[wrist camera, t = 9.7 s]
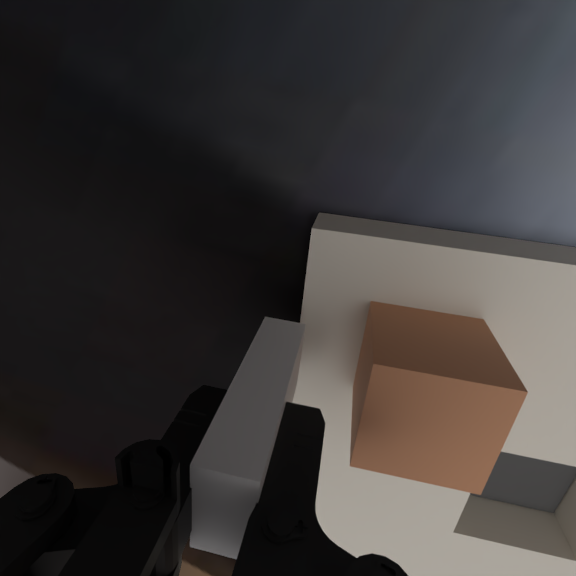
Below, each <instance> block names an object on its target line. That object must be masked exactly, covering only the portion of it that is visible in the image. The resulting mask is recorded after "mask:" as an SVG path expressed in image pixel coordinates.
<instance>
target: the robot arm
mask: <svg viewBox="0 0 576 576" xmlns="http://www.w3.org/2000/svg"><path fill="white" fill-rule="evenodd" d="M305 326H306V324H302V323H297V322H291V321H286V320H281V319H275V318H270V317H265V318H264V320H263V322H262V324H261V326H260V328H259V330H258V332H257V334H256V336H255V338H254V340H253V342H252V344H251V345H250V347H249V349H248V351H247V353H246V355H245V357H244V359H243V361H242V363H241V365H240V367H239V369H238V371H237V373H236V375H235V377H234V379H233V381H232V383H231V385H230V387H229V389H228V390H225V389H220V388H215V387H211V386H206V385H203V386H201V387H200V388H199V389H197V390H196V391H194V392H193V393H192V394H190V395H189V397H188V398H187V400H186V402H185V403H184V405H183V406H182V408H181V411H179V413H178V414H177V416H176V417H175V419H174V422H172V424H171V425H170V427H169V428H168V430H167V431H166V433H165V434H164V436H163V438H162V439H161V440H150V439H149V440H144V441H140V442H136V443H134V444H132V445H130V446H128V447H127V448H125V449H124V450H122V451H121V452H120V453H119V454H118V455H117V456H116V457H115V463H116V471H117V480H118V484H116V485H112V486H107V487H97V488H83V489H74V487H73V483H72V482H71V481H70V480H69V479H68V478H67V477H66V476H63V475H60V474H56V473H53V474H42V475H39V476H36V477H33V478H30V479H28V480H26V481H24V482H23V483H21V484H19V485H18V486H16V487H14V488H13V489H12V490H10V491H9V492H8V493H7V494H5V495H4V496H3V497H1V498H0V576H179V572H180V568H181V563H182V559H181V555H182V552H183V550H184V547H185V545H186V543H187V540H188V538H189V536H190V547H193V548H197V549H200V550H204V551H208V552H212V553H215V554H219V555H223V556H226V557H230V558H234V559H237V560H236V563H235V567H234V570H233V574H232V576H408V575H407V574H406V572H405V571H404V570H403V569H402V568H401V567H400V566H399V564H397V563H395V562H394V561H392V560H391V559H389V558H387V557H386V556H382V555H377V554H373V553H371V554H366V555H362V556H359V557H358V558H356V557H355V556H353V555H352V554H350V553H348V552H347V551H345V550H344V549H342V548H341V547H339V546H338V545H336V544H335V543H334V542H333V541H331V540H330V539H329V538H328V536H327V535H326V534H325V533H324V532H323V530H322V528H321V526H320V524H319V522H318V520H317V516H316V504H315V503H316V495H317V487H318V479H319V471H320V463H321V455H322V447H323V439H324V431H325V421H324V418H323V415H322V413H321V410H320V409H319V408H315V407H310V406H305V405H300V404H296V403H292V402H293V398H294V394H295V390H296V386H297V380H298V373H299V367H300V360H301V353H302V346H303V339H304V333H305Z"/></svg>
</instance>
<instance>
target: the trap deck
mask: <svg viewBox="0 0 576 576" xmlns="http://www.w3.org/2000/svg"><path fill="white" fill-rule="evenodd" d="M371 301H375V302H381V303H387V304H393V305H399V306H405V307H412V308H418V309H424V310H430V311H436V312H442V313H448V314H455V315H461V316H467V317H473V318H479V319H484V320H485V322H486V324H487V325H488V327H489V329H490V330H491V332H492V334H493V335H494V337H495V339H496V340H497V342H498V343H499V345H500V347H501V348H502V350H503V352H504V353H505V355H506V357H507V358H508V360H509V362H510V363H511V365H512V367H513V368H514V370H515V371H516V373H517V375H518V376H519V378H520V380H521V381H522V383H523V385H524V386H525V388H526V390H527V391H528V393H527V396H526V398H525V400H524V402H523V404H522V406H521V409H520V411H519V413H518V415H517V417H516V419H515V422H514V424H513V426H512V428H511V430H510V432H509V435H508V437H507V439H506V441H505V443H504V445H503V448H502V450H501V452H500V454H499V456H498V458H497V461H496V463H495V465H494V467H493V469H492V471H491V474H490V476H489V478H488V480H487V482H486V485H485V487H484V489H483V491H482V493H481V495H478V494H474V493H469V492H465V491H460V490H455V489H451V488H446V487H442V486H437V485H433V484H428V483H424V482H419V481H414V480H410V479H405V478H401V477H396V476H392V475H387V474H383V473H378V472H373V471H369V470H364V469H360V468H355V467H351V466H350V446H351V421H352V396H353V384H354V379H355V374H356V369H357V364H358V360H359V355H360V350H361V345H362V341H363V336H364V331H365V326H366V321H367V317H368V312H369V307H370V302H371ZM300 323H302V324H306V326H305V333H304V339H303V346H302V353H301V360H300V367H299V373H298V380H297V386H296V390H295V394H294V398H293V402H292V403H296V404H300V405H305V406H310V407H315V408H319V409H320V410H321V413H322V415H323V418H324V421H325V431H324V439H323V447H322V455H321V463H320V471H319V479H318V487H317V495H316V503H315V504H316V516H317V520H318V522H319V524H320V526H321V528H322V530H323V532H324V533H325V534H326V535H327V536H328V538H329V539H330V540H331V541H333V542H334V543H335V544H336V545H338V546H339V547H341V548H342V549H344V550H345V551H347V552H348V553H350V554H352V555H353V556H355V557H356V558H358V557H359V556H362V555H366V554H371V553H373V554H377V555H382V556H386V557H387V558H389V559H391V560H392V561H394V562H395V563H397V564H399V566H400V567H401V568H402V569H403V570H404V571H405V572H406V574H407V575H408V576H576V247H570V246H563V245H556V244H548V243H541V242H534V241H526V240H519V239H511V238H504V237H497V236H489V235H482V234H475V233H467V232H460V231H452V230H445V229H438V228H430V227H423V226H416V225H408V224H401V223H394V222H386V221H379V220H371V219H364V218H357V217H349V216H342V215H335V214H327V213H320V212H319V214H318V216H317V218H316V220H315V222H314V224H313V226H312V230H311V238H310V246H309V254H308V262H307V270H306V278H305V286H304V294H303V302H302V311H301V319H300Z"/></svg>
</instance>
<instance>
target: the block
mask: <svg viewBox="0 0 576 576" xmlns="http://www.w3.org/2000/svg"><path fill="white" fill-rule="evenodd" d="M527 393H528V391H527V390H526V388H525V386H524V385H523V383H522V381H521V380H520V378H519V376H518V375H517V373H516V371H515V370H514V368H513V367H512V365H511V363H510V362H509V360H508V358H507V357H506V355H505V353H504V352H503V350H502V348H501V347H500V345H499V343H498V342H497V340H496V339H495V337H494V335H493V334H492V332H491V330H490V329H489V327H488V325H487V324H486V322H485V320H484V319H479V318H473V317H467V316H461V315H455V314H448V313H442V312H436V311H430V310H424V309H418V308H412V307H405V306H399V305H393V304H387V303H381V302H375V301H371V302H370V307H369V312H368V317H367V321H366V326H365V331H364V336H363V341H362V345H361V350H360V355H359V360H358V364H357V369H356V374H355V379H354V384H353V396H352V421H351V446H350V466H351V467H355V468H360V469H364V470H369V471H373V472H378V473H383V474H387V475H392V476H396V477H401V478H405V479H410V480H414V481H419V482H424V483H428V484H433V485H437V486H442V487H446V488H451V489H455V490H460V491H465V492H469V493H474V494H478V495H481V493H482V491H483V489H484V487H485V485H486V482H487V480H488V478H489V476H490V474H491V471H492V469H493V467H494V465H495V463H496V461H497V458H498V456H499V454H500V452H501V450H502V448H503V445H504V443H505V441H506V439H507V437H508V435H509V432H510V430H511V428H512V426H513V424H514V422H515V419H516V417H517V415H518V413H519V411H520V409H521V406H522V404H523V402H524V400H525V398H526V396H527Z"/></svg>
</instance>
